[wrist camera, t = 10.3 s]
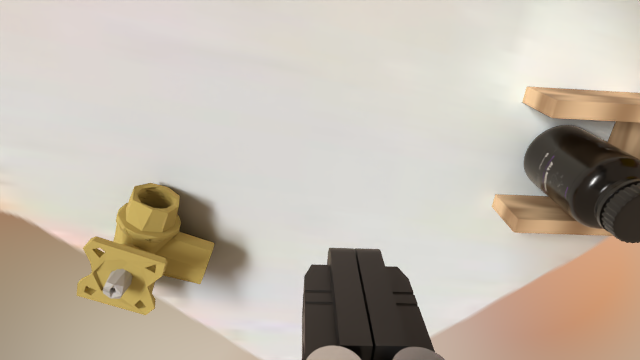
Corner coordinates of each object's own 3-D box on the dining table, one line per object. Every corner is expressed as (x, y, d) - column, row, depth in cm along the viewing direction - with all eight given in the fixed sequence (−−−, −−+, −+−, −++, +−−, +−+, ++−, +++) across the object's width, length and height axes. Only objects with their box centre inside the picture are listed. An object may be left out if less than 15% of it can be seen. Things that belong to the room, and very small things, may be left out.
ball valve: (131, 170, 40) (80, 224, 31) (230, 204, 42) (209, 264, 33) (107, 264, 44) (57, 335, 35) (196, 290, 47) (170, 363, 38)
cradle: (491, 206, 43) (516, 234, 38) (526, 86, 37) (560, 101, 32) (593, 210, 44) (629, 238, 39) (642, 93, 38) (692, 108, 33)
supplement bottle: (508, 152, 40) (584, 213, 29) (571, 109, 38) (676, 157, 28) (539, 196, 43) (619, 268, 32) (599, 158, 41) (705, 220, 30)
